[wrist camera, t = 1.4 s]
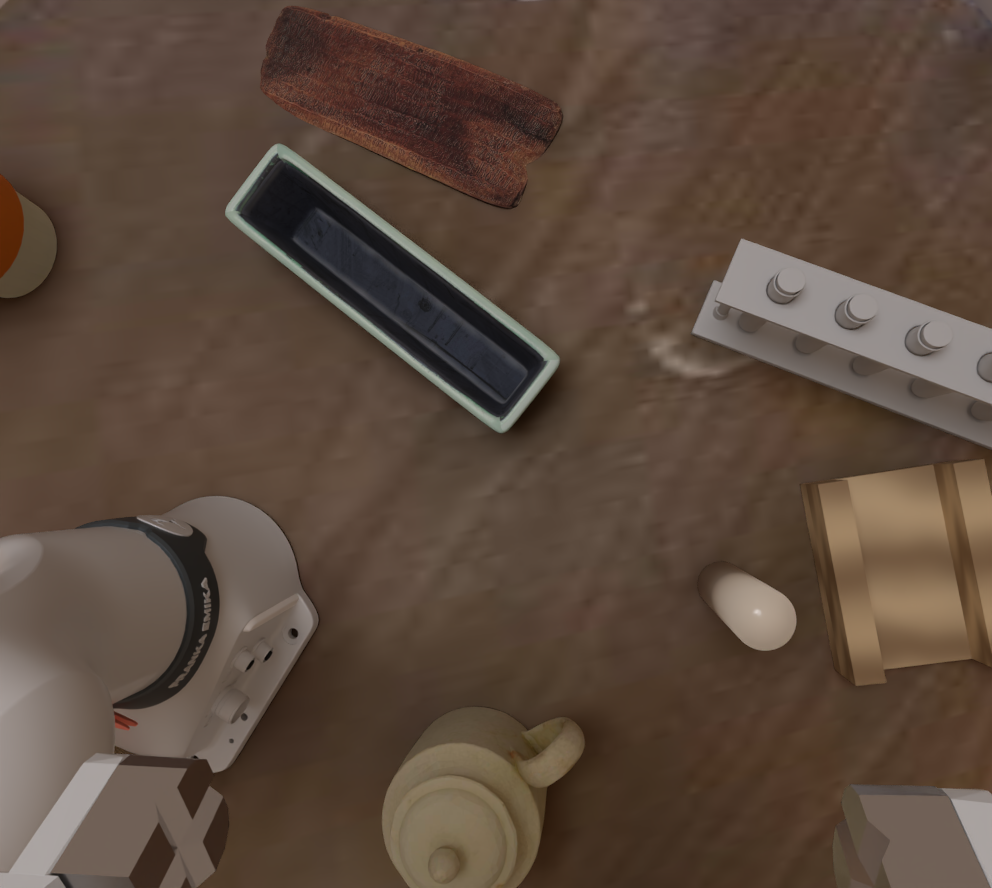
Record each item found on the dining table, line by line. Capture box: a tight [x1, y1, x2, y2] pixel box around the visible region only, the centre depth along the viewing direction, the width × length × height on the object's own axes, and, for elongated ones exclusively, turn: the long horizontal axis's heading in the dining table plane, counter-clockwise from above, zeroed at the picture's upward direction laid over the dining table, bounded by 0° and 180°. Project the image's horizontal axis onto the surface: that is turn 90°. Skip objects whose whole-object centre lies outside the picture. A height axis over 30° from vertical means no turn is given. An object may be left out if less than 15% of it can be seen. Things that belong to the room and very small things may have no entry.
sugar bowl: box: [382, 707, 585, 888], centre depth 51 cm, size 15×11×15 cm
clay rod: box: [697, 562, 796, 651], centre depth 50 cm, size 4×4×14 cm
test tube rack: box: [691, 239, 992, 450], centre depth 50 cm, size 25×4×13 cm, turn 67°
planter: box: [225, 143, 560, 433], centre depth 58 cm, size 28×7×7 cm, turn 51°
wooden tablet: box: [260, 6, 563, 209], centre depth 62 cm, size 26×2×10 cm
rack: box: [800, 459, 992, 686], centre depth 53 cm, size 14×11×4 cm
